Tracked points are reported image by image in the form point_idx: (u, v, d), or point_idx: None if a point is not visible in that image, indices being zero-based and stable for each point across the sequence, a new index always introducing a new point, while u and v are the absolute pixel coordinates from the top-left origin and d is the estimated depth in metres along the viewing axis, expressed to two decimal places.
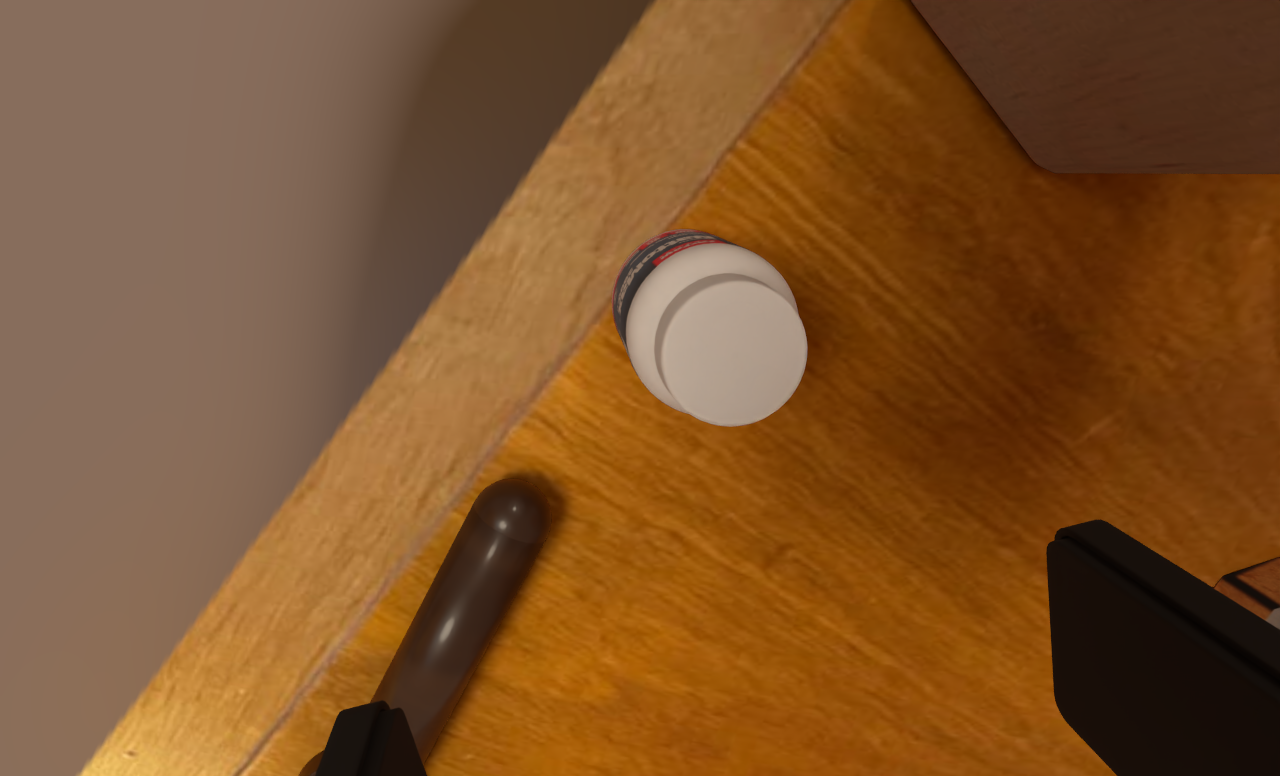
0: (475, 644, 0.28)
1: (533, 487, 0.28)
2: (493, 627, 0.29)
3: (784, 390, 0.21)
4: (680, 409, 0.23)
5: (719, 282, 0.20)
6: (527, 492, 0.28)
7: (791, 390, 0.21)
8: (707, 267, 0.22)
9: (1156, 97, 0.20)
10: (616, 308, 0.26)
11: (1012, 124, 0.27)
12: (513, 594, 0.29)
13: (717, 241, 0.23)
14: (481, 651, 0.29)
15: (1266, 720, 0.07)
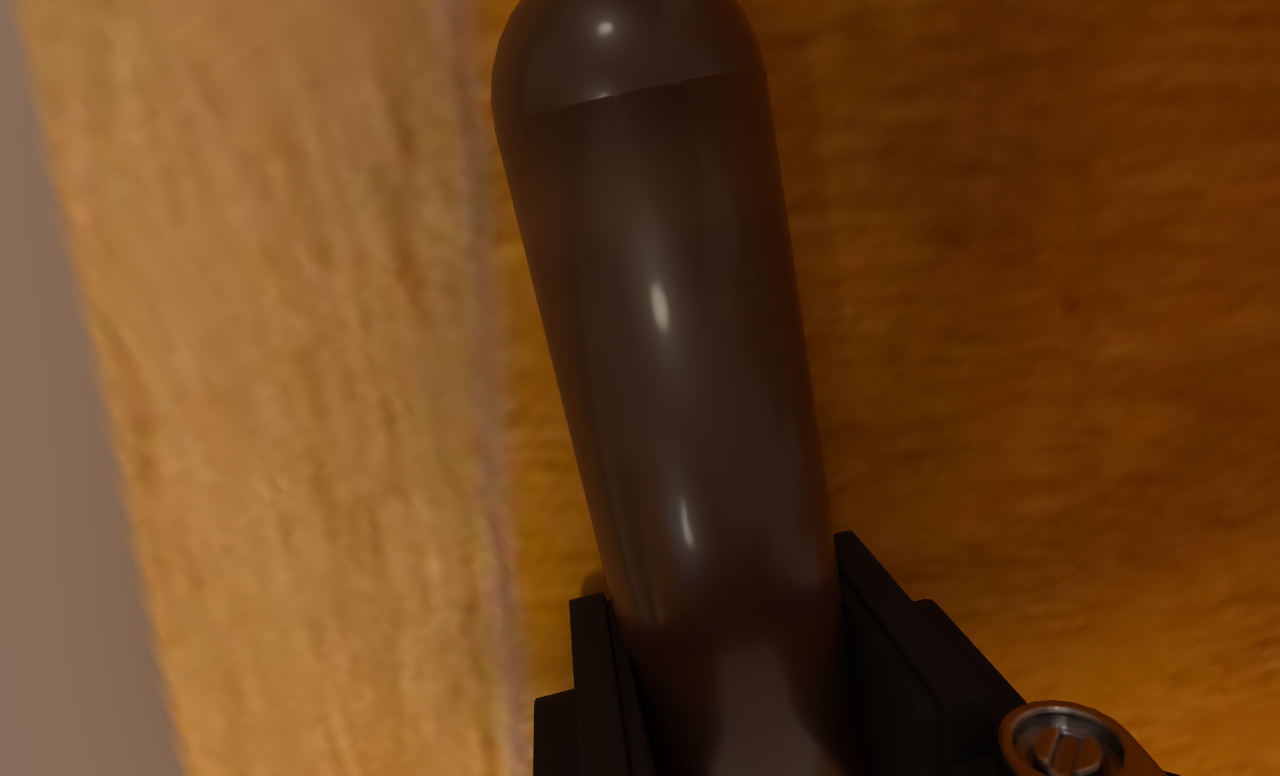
0: (793, 499, 0.09)
1: None
2: (808, 425, 0.09)
3: None
4: None
5: None
6: None
7: None
8: None
9: None
10: None
11: None
12: (792, 293, 0.08)
13: None
14: (822, 511, 0.09)
15: (906, 710, 0.08)
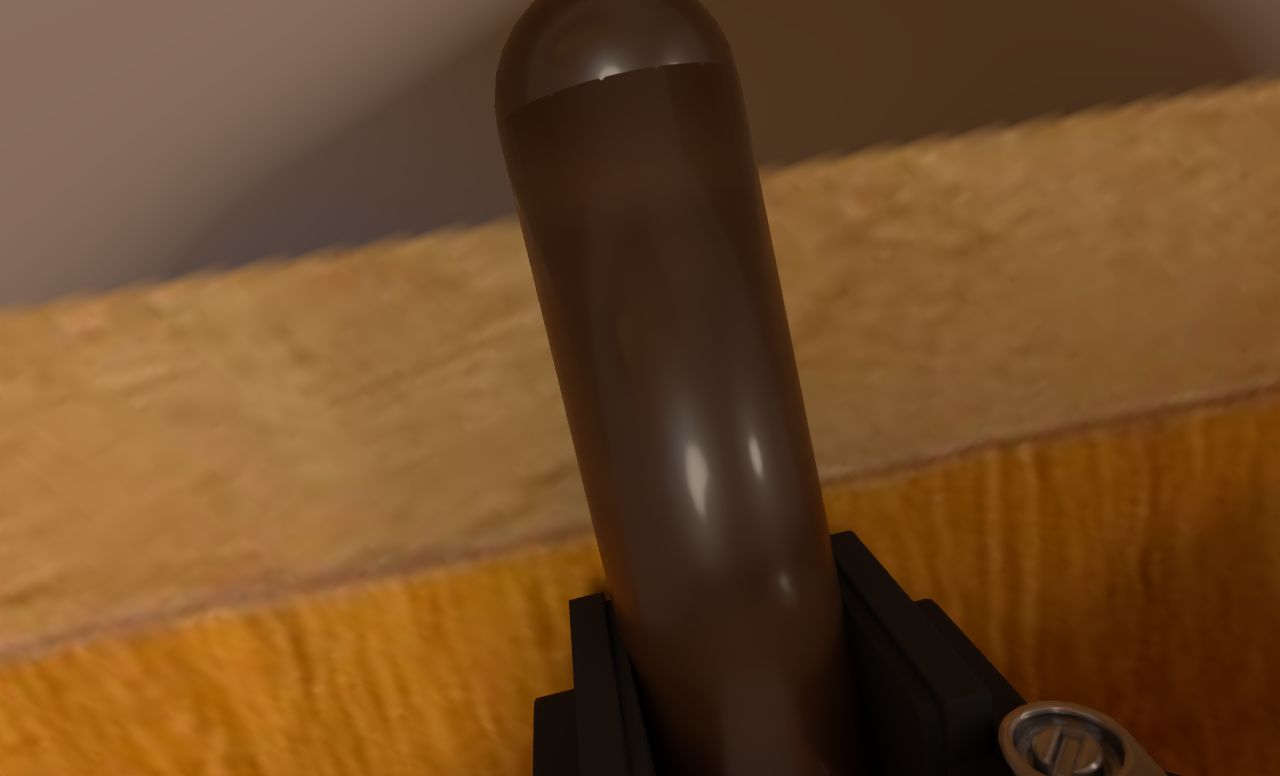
0: (779, 463, 0.09)
1: None
2: (792, 396, 0.09)
3: None
4: None
5: None
6: None
7: None
8: None
9: None
10: None
11: None
12: (770, 268, 0.09)
13: None
14: (811, 483, 0.09)
15: (906, 710, 0.08)
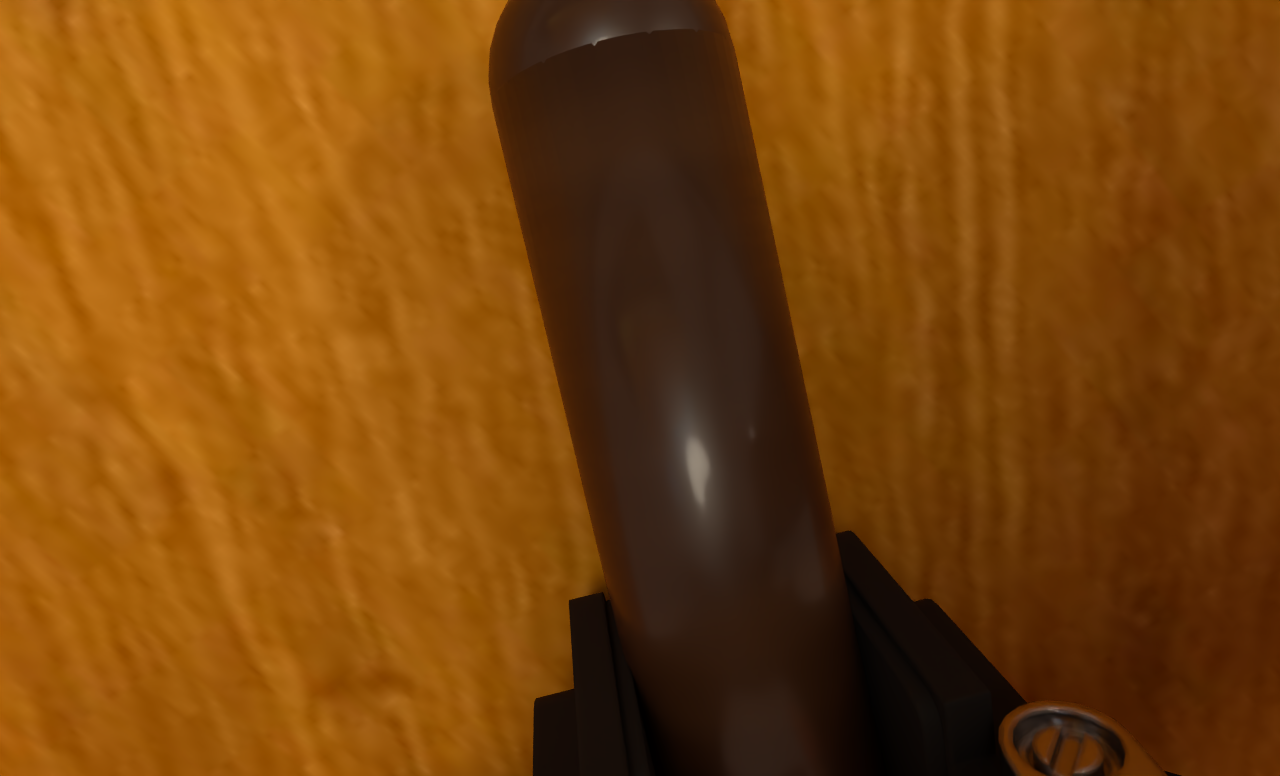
0: (779, 438, 0.09)
1: None
2: (791, 369, 0.09)
3: None
4: None
5: None
6: None
7: None
8: None
9: None
10: None
11: None
12: (768, 240, 0.09)
13: None
14: (813, 462, 0.09)
15: (906, 710, 0.08)
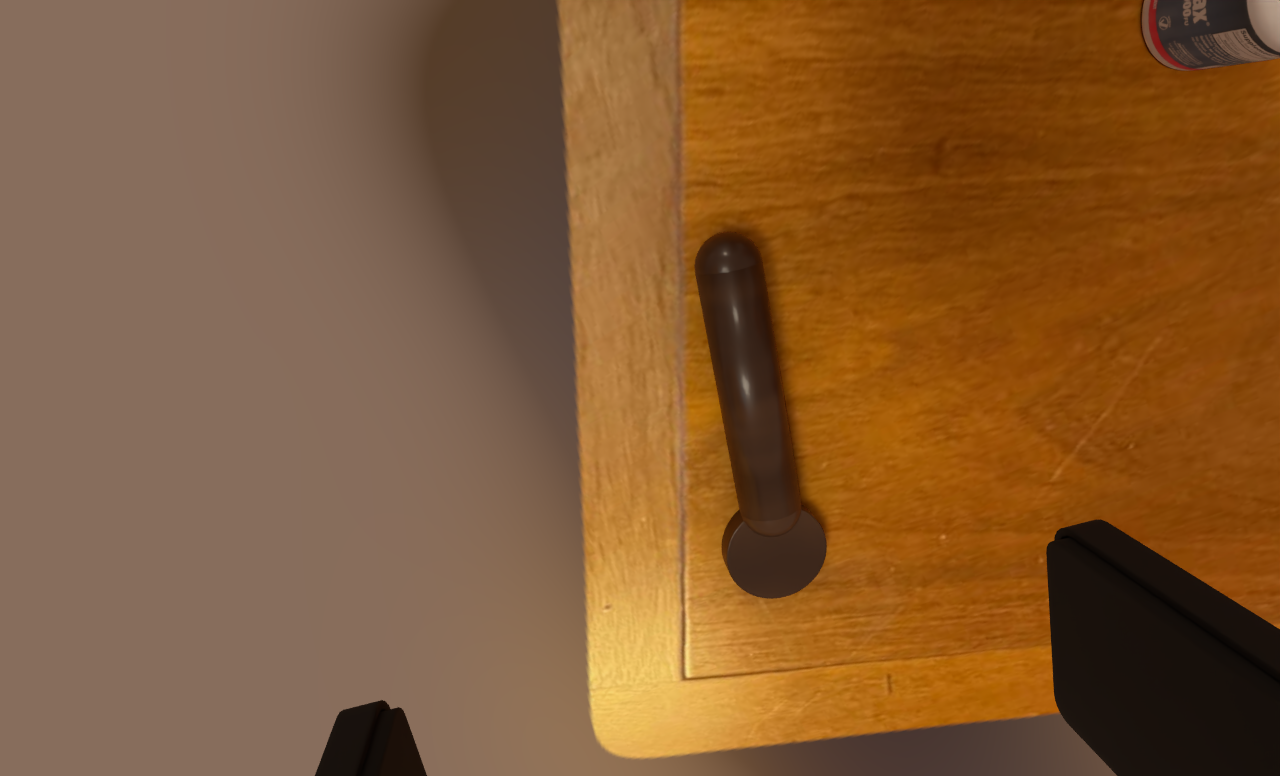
0: (769, 364, 0.34)
1: (726, 232, 0.34)
2: (772, 346, 0.35)
3: None
4: None
5: None
6: (724, 235, 0.33)
7: None
8: None
9: None
10: (1179, 26, 0.33)
11: None
12: (768, 313, 0.34)
13: None
14: (777, 369, 0.35)
15: (1266, 719, 0.07)
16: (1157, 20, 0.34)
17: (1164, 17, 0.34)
